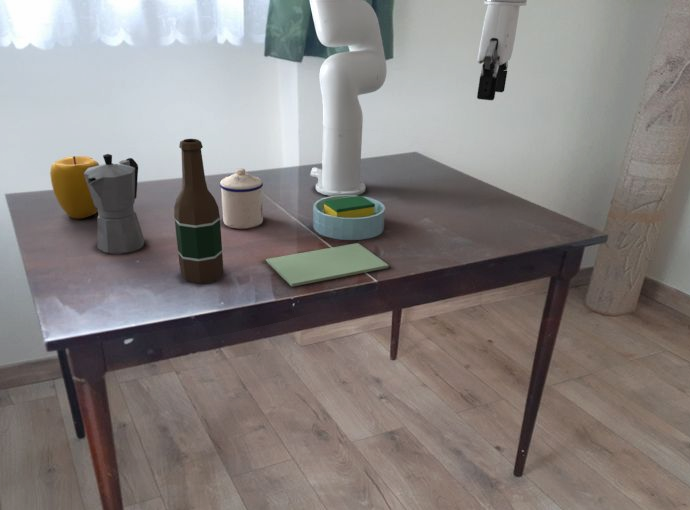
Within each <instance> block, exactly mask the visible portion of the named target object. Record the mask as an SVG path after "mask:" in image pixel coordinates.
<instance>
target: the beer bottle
mask: <svg viewBox="0 0 690 510" xmlns="http://www.w3.org/2000/svg"><path fill="white" fill-rule="evenodd" d="M178 145H179V146H178V147H179V148H180V150H181V152H180V153H181V174H182V175H181V176H182V177H181V180H182V181H181V182H182V183H181V190H180V192H179V194H178V195H177V197H176V199H175V201H174V202H175V203H174V206H173V212H174V213H173V217H174V226H175V234H176V245H177V254H178V263H179V264H178V265H179V270H180V275H181V276H182V277H183V280H185V281H186V282H187V283H192V284H199V285H202V284H203V285H204V284H207V283H208V284H209V283H213V282H216V281H218V280H219V279H220V278H221V277H222V276H223V274H224V256H223V244H222V243H223V242H222V228H221V216H220V209H219V205H218V203H217V201H216V198H215V197H214V195H213V194H212V193H211V191H210V190H209V189H208V185H207V181H206V175H205V169H204V161H203V154H202V149H203V148H204V147H203V143H202V141H201V140H200V139H197V138H185V139H182V140H180V141H179V144H178Z"/></svg>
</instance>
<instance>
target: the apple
mask: <svg viewBox="0 0 690 510" xmlns="http://www.w3.org/2000/svg"><path fill="white" fill-rule="evenodd" d="M99 165H100V163H99V162H97V161H96V160H95V159H93V158H92V157H89V156H85V155H77V156H75V155H74V156H67V157H63V158H61V159H59V160H56V161H55V162H53V163H52V164H51V165H50V171H49V175H50V176H49V177H50V183H51V186H52V190H53V194H54V196H55V199H56V201H57V202H58V204H59V206H60V207H61V209H62V210H63V211H64V212H65V214H66V215H67V216H68V217H70V218H72V219H78V220H79V219H85V218H88V217H91V216H92V215H95V214H96V213H97V212H98V208H97V207H95V206H94V203H93V200H92V197H91V194H90V191H89V188H88V185H87V182H86V179H85V176H84V173H85V171H86V170H87V169H88V168H90V167H95V166H99Z"/></svg>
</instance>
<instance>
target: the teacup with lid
mask: <svg viewBox="0 0 690 510" xmlns="http://www.w3.org/2000/svg"><path fill="white" fill-rule="evenodd" d="M263 186H264V183H263V181H262V179H261V178H260V177H258V176H254V175H252V174H250V173H247V172H246V169H245V168H241V167H240V168H236V170H235V172H234V173H233V174H231V175H230V176H225V177H224V178H222V179H221V180H220V183H219V187H220V190H221V206H222V220H223V221H222V222H223V224H224V225H225V226H227V227H229V228H232V229H238V230H246V229H249V228H254V227H257V226H259V225H261V224H263V221H264V211H263V210H264V209H263Z"/></svg>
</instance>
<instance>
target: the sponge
mask: <svg viewBox="0 0 690 510" xmlns="http://www.w3.org/2000/svg"><path fill="white" fill-rule="evenodd" d="M364 197H365V196H363V197H362V195H355V197H348V198H341V199H334V200H327V201H324V213H325V214H327V215H331V216H335V217H342V218H362V217H369V216H372V215H374V209H375V204H374V203H372V202H371V201H369V200H367V199H366V198H364Z"/></svg>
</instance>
